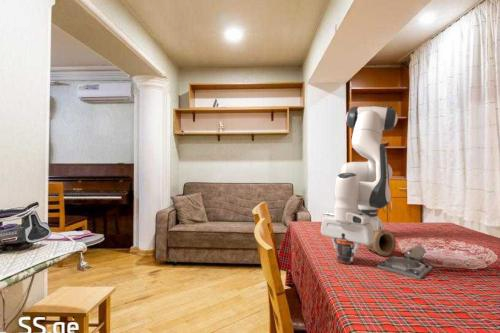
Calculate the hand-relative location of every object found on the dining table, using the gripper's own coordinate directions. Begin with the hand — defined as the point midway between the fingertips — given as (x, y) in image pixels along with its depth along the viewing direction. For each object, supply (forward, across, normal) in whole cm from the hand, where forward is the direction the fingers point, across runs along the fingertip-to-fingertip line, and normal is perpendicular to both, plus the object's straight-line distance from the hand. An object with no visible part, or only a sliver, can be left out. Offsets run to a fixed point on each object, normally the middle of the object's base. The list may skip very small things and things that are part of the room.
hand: (345, 251), depth 111 cm
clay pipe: (+4, +3, +25) cm, 25 cm away
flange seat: (+4, +18, +15) cm, 24 cm away
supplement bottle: (+4, 0, 0) cm, 4 cm away
